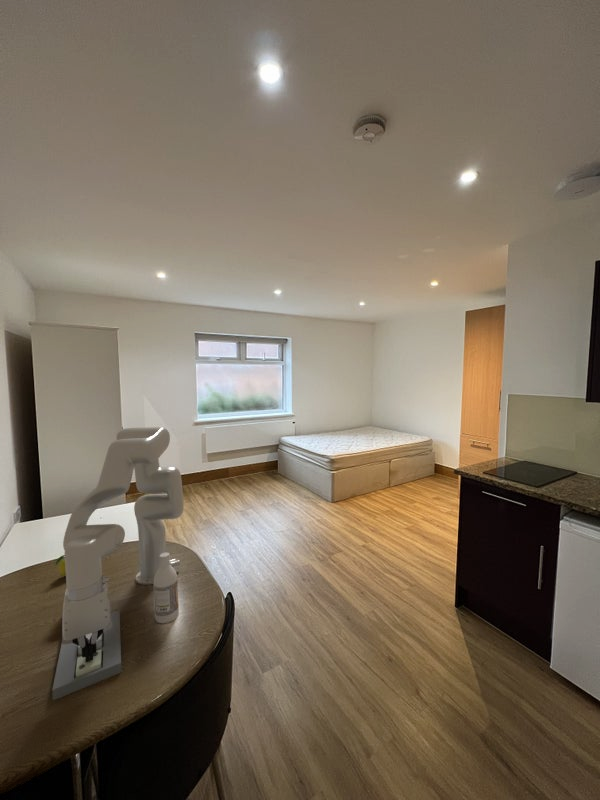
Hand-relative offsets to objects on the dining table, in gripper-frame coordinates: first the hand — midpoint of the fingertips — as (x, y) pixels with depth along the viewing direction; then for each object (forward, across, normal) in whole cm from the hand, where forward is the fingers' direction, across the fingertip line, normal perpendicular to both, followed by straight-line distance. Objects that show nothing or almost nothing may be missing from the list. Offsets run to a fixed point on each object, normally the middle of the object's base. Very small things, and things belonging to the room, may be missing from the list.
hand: (89, 657), depth 82 cm
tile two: (+3, 0, -7) cm, 8 cm away
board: (+4, 0, -7) cm, 8 cm away
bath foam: (+4, -20, -11) cm, 23 cm away
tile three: (+4, 0, 0) cm, 4 cm away
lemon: (+5, +10, -56) cm, 57 cm away
